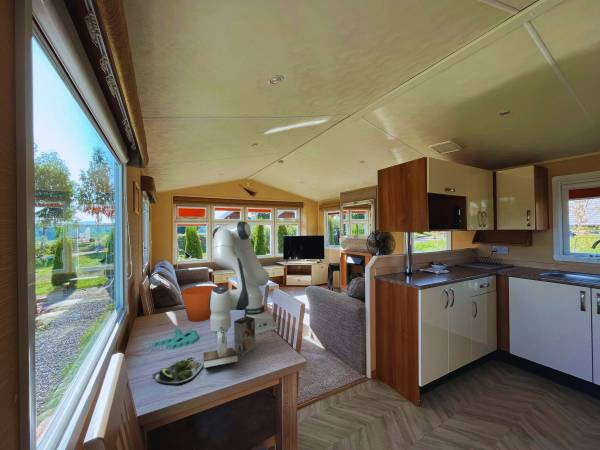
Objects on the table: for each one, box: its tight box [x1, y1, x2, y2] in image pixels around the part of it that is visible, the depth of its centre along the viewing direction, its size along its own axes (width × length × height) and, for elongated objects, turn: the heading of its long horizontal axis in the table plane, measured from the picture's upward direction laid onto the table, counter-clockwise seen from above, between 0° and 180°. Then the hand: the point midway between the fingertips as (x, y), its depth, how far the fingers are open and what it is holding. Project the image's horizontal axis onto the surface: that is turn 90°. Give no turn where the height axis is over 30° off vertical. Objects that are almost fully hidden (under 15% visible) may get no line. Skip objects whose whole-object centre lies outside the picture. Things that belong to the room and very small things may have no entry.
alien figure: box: [151, 328, 200, 350], centre depth 145 cm, size 20×2×20 cm
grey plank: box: [203, 355, 238, 369], centre depth 116 cm, size 14×9×2 cm, turn 112°
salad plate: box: [151, 357, 203, 387], centre depth 113 cm, size 19×18×5 cm
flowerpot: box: [180, 285, 217, 323], centre depth 180 cm, size 25×25×20 cm
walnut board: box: [203, 347, 236, 363], centre depth 124 cm, size 14×9×2 cm, turn 112°
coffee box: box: [233, 316, 256, 356], centre depth 133 cm, size 9×6×16 cm
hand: (220, 354), depth 113 cm, fingers closed
